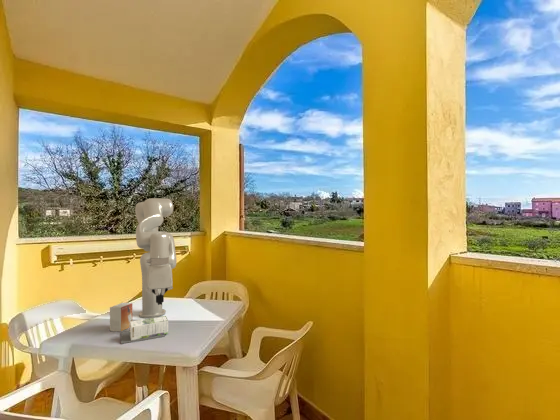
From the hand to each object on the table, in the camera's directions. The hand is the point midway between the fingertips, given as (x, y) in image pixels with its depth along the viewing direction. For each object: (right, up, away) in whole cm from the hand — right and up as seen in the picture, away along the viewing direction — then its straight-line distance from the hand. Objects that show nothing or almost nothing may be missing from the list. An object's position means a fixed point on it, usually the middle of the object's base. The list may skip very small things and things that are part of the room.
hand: (159, 303), depth 138 cm
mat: (-6, -12, -4) cm, 14 cm away
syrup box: (+4, -8, -2) cm, 9 cm away
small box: (-19, -13, +4) cm, 23 cm away
